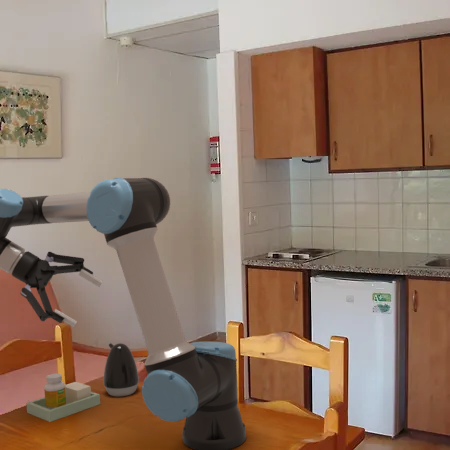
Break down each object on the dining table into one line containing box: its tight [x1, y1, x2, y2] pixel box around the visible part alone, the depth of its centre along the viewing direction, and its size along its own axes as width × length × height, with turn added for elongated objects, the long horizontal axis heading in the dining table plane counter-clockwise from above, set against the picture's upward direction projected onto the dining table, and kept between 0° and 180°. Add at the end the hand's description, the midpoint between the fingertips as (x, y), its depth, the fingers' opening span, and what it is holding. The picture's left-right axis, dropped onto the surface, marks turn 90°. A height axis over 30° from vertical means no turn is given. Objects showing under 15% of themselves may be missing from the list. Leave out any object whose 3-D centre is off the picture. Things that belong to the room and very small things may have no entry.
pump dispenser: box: [102, 342, 140, 397], centre depth 184 cm, size 10×10×15 cm
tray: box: [26, 391, 101, 423], centre depth 173 cm, size 11×16×4 cm
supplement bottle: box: [43, 373, 66, 410], centre depth 170 cm, size 5×5×10 cm
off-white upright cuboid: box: [65, 381, 92, 404], centre depth 176 cm, size 7×4×5 cm, turn 49°
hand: (88, 303), depth 168 cm, fingers open, 13 cm apart
